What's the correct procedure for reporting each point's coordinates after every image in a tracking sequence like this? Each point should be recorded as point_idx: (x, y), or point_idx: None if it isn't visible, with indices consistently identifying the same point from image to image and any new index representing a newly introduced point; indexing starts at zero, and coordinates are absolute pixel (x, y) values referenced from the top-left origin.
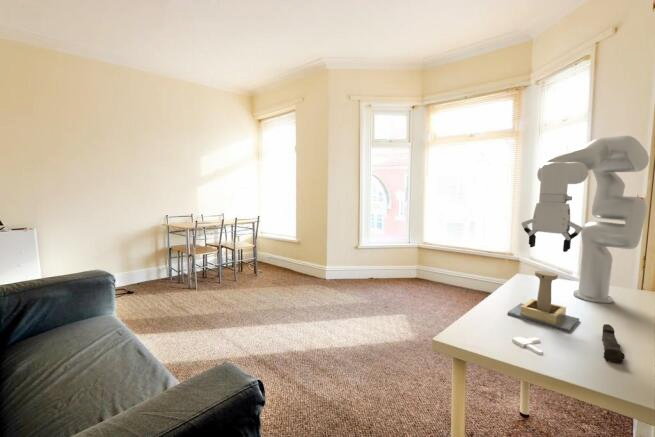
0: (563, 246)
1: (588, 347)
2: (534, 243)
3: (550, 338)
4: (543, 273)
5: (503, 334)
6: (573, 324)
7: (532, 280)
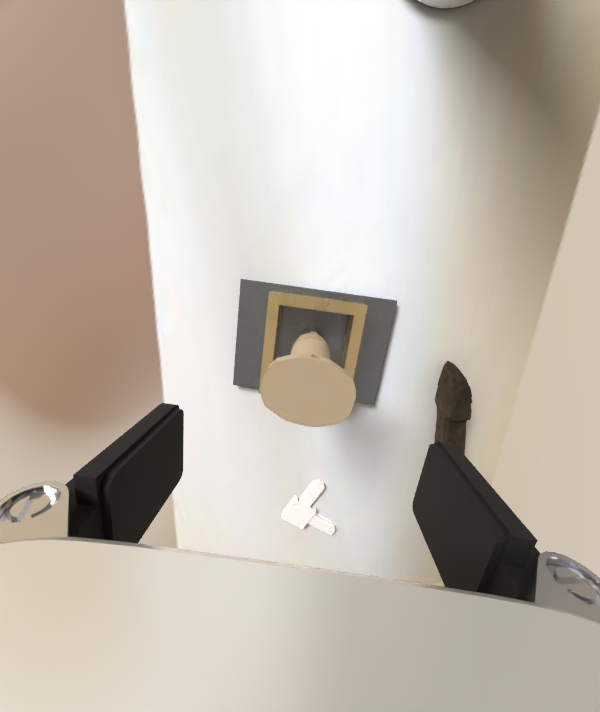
0: (429, 547)
1: (406, 451)
2: (169, 444)
3: (340, 456)
4: (298, 404)
5: (261, 495)
6: (382, 361)
7: None
